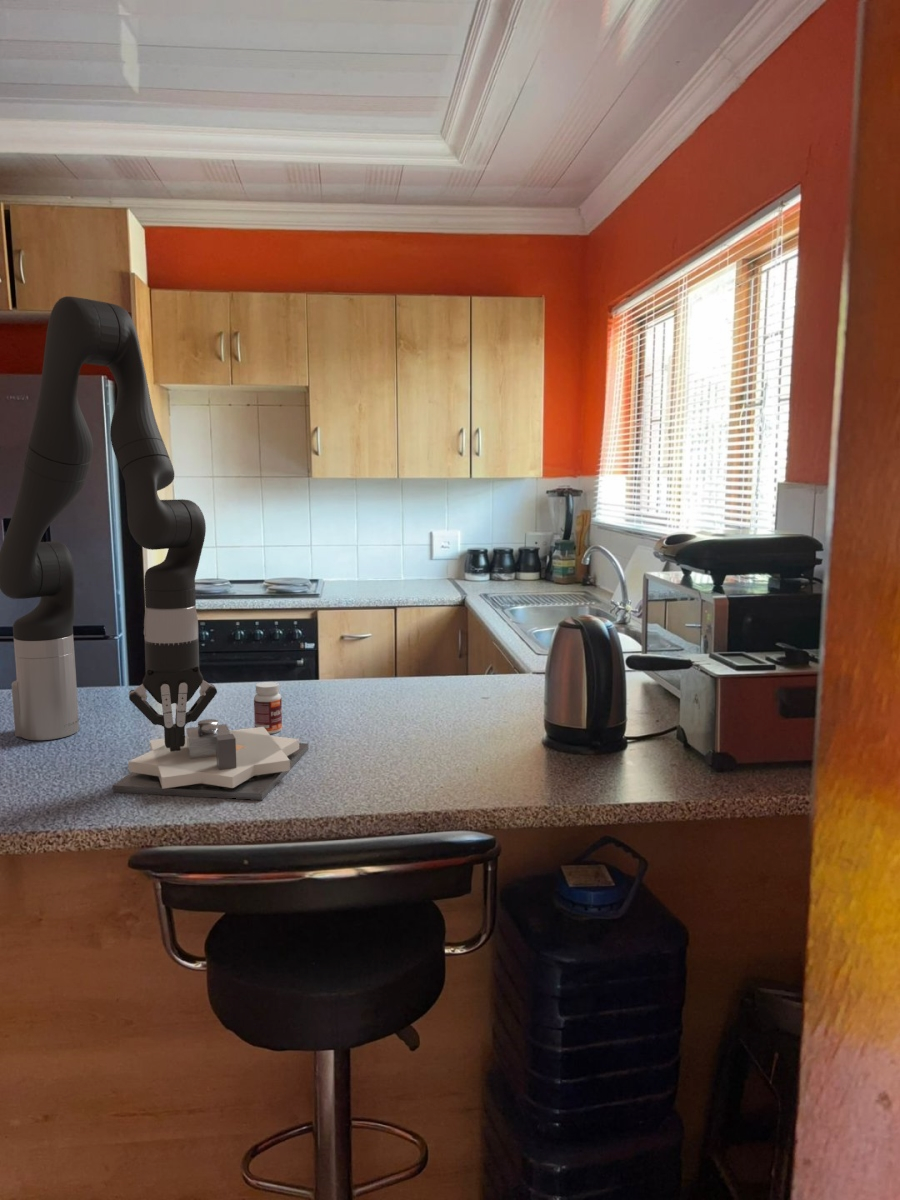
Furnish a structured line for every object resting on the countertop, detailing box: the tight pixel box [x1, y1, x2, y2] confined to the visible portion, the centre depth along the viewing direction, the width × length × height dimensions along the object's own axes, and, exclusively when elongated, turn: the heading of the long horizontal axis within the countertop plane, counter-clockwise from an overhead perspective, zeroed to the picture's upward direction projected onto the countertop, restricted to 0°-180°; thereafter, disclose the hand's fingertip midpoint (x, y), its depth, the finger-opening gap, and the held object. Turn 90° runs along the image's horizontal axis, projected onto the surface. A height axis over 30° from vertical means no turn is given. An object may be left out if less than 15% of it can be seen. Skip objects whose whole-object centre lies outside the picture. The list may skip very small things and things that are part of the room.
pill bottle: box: [253, 681, 283, 735], centre depth 147 cm, size 5×5×8 cm
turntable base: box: [112, 742, 309, 801], centre depth 128 cm, size 22×22×1 cm
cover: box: [185, 718, 230, 759], centre depth 127 cm, size 6×6×4 cm
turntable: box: [128, 727, 300, 789], centre depth 127 cm, size 26×26×6 cm
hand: (175, 749), depth 125 cm, fingers closed
